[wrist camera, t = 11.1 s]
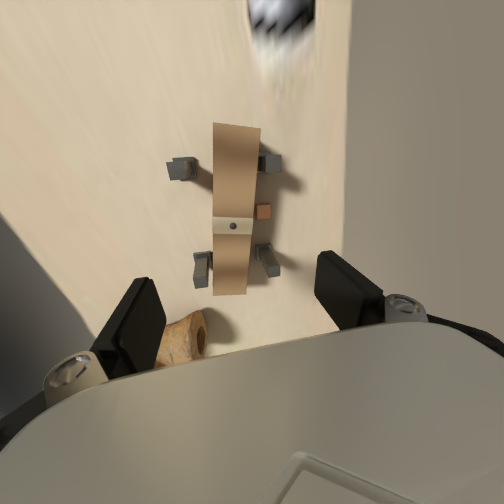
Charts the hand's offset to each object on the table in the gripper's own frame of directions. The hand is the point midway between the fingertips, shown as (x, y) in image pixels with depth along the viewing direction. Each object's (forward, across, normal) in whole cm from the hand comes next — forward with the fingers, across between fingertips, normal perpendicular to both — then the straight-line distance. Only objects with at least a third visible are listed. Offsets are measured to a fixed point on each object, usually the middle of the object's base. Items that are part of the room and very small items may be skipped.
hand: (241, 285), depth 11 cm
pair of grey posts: (+18, 0, +8) cm, 20 cm away
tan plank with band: (+19, -1, +1) cm, 19 cm away
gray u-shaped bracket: (+18, -1, -6) cm, 19 cm away
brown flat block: (+18, -6, +1) cm, 19 cm away
